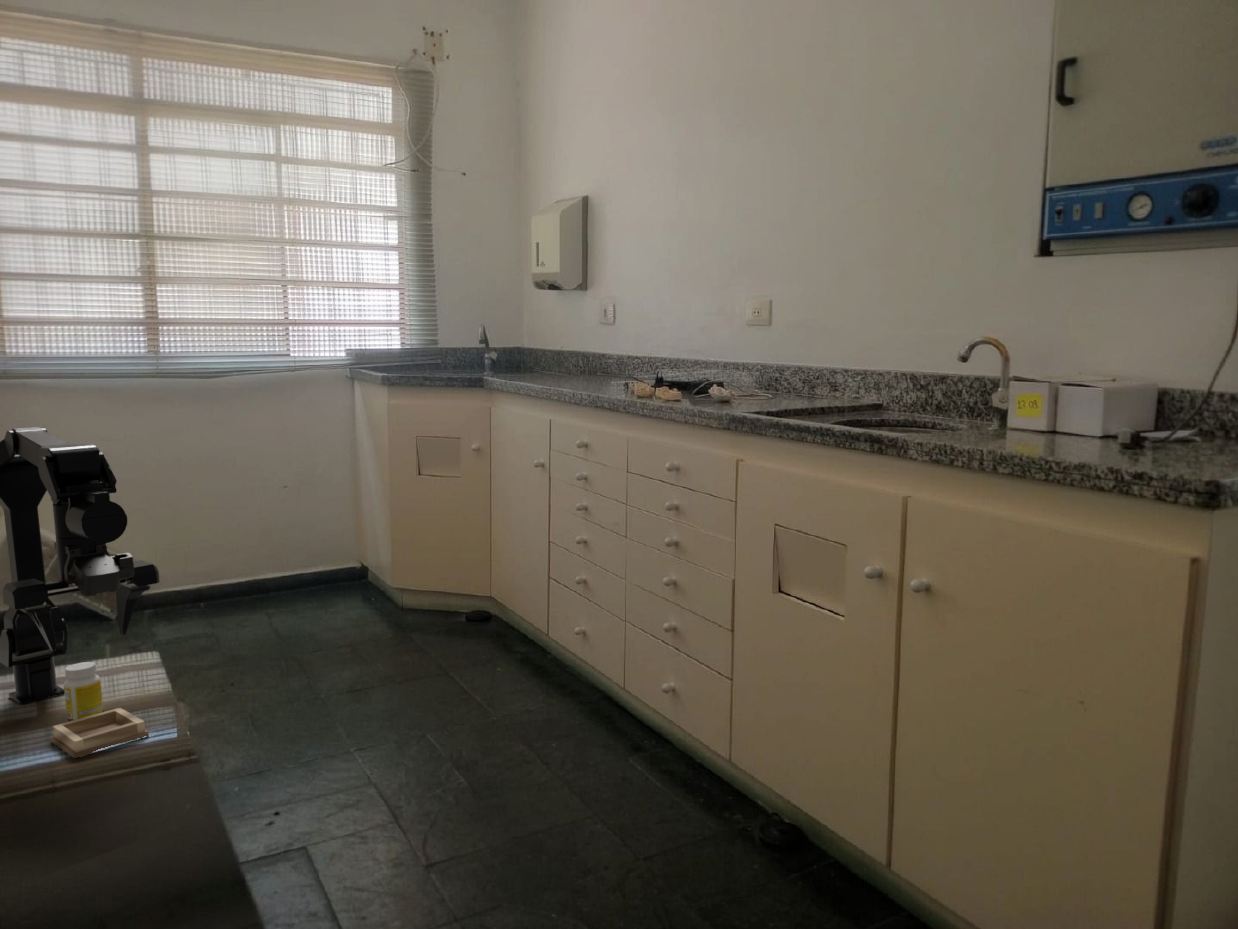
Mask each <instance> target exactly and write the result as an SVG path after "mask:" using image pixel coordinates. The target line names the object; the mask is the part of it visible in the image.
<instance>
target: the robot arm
mask: <svg viewBox="0 0 1238 929" xmlns="http://www.w3.org/2000/svg"><path fill="white" fill-rule="evenodd" d="M116 485H117V478H116V476H115V475H114V473H113V470H112V468H111V465H110V464H109V462H108V459H107V458H106V456H105V454H104V453H103V452H102V451H100V449H99V447H98V446H96V445H95V444H89V443H79V444H78V443H77V444H75V443H73V444H70V443H68V442H65V441H63V440H62V439H60V438H59V437H57V436H54V435H52V434H51V433H49V432H48V430H47V429H46V428H45V427H44V428H42V427H41V426H34V427H32V426H30V427H20V428H18V427H17V428H11V430H7V431H6V432H5V436H4V438H3V439H2V440H1V441H0V506H1V508H2V510H3V515H4V517H3V518H4V524H5V533H6V541H7V552H8V559H9V560H8V561H9V569H10V576H11V582H7V583H6V584H5V585H4V586H3V588H2V601H3V604H4V605H5V606H8V609H7V611H6V612H5V614H4V616H3V629H2V630H1V633H0V664H1V665H4V666H5V667H7V668H11V667H12V670H13V678H14V679H13V681H14V689H15V691H12V692H10V693H8V697H10V698H11V699H12V700H14V701H15V702H16V703H17V704H19V705H23V704H29V703H32V702H35V701H39V700H44V699H47V698H51V697H55V696H60V695H65V692H64V688H62V687H60V686H59V685H58V684H57V677H56V676H57V675H56V665H55V657H58V656H65V655H67V650H68V634H69V633H68V632H69V626H68V625H67V624H66V622H65V619H64V618H63V613H62V612H63V611H62V610H61V609H60V607H58V606H57V605H56V604H55V603H53V601H52V600H51V599H50V598H49V597H53V596H57V595H63V594H69V593H74V592H75V593H76V592H78V591H79V592H80V593H81V595H83V596H84V597H85V596H86V597H94V596H96V595H98V594H103V593H108V592H109V593H114V592H115V599H116V600H115V601H116V612H117V614H116V615H117V625H118V630H119V634H120V635H121V636H126V635H127V632H128V629H129V625H130V622H131V619H132V617H133V616H132V615H133V612H134V609H135V606H136V604H137V601H138V600H139V598H140V597H141V595H142V594H143V593H144V592H146V591H150V590H151V586H150V585H155V584H159V583H160V574H159V573H160V572H159V569H158V567H157V566H156V565H154V563H150V562H148V561H144V560H135V561H134V557H133V555H132V554H131V553H130V552H123V553H117V554H114V555H113V556H112V555H111V556H110V555H109V552H108V546H107V544H108V543H112V542H114V541H116V540H118V539H119V538H120V537H121V536H122V535H124V533H125V531H126V528H127V526H128V516H127V514H126V512H125V510H124V508H123V507H122V506H121V505H120V504H118V503H117V502H114V501H112V500H111V499H110V498H111V497H110V494H116V493H117V487H116ZM46 493H48V495H49V496H50V501H51V502H52V510H53V520H54V521H53V522H54V534H55V542H53V546H54V550H56V553H57V556H56V557H57V565H58V570H56V575H57V576H56V578H57V579H59V580H55V581H51V582H50V581H49V582H47V580H46V572H45V565H44V564H45V563H44V554H43V545H42V544H43V543H42V534H41V527H40V518H39V517H40V515H39V506H40V505H41V504H40V503H41V502H42V500H43V498H44V497H45V495H46Z"/></svg>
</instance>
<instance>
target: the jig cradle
mask: <svg viewBox="0 0 1238 929" xmlns="http://www.w3.org/2000/svg"><path fill="white" fill-rule="evenodd" d="M145 724H146V723H145V721H144V720H143V719H141V718H139V717H138V716H136V715H134V714H132V713H130V712H128V711H127V710H125V709H123V708H121V707H116V708H114V709H110V710H107V711H106V710H105V711H104V712H102V713H98V714H95V715H91V716H88V717H84V718H80V719H77V720H73V721H69V722H68V721H66V722H63V723H59V724H56V725H52V734H53V735H51V736H50V742H51V743H52V744H53V743H54V744H53V745H55V746H56V745H57V746H58V747H57V746H56V747H57V748H59V749H60V748H61V749H60V750H62V749H63V750H64V751H65V752H64V751H63V750H62V751H63V752H64V753H66V752H67V753H68V754H70V755H71V756H72V757H71V756H70V755H69V756H70V757H71V758H73V757H74V758H77V757H80V756H83V755H86V754H89V753H92V752H93V751H96V750H98V749H101V748H105V747H108V746H111V745H115V744H118V743H123V742H127V741H130V740H135V739H137V738H142V737H144V736H149V737H150V735H149V731H148V730H147V729H146V726H145ZM67 753H66V754H67ZM68 754H67V755H68ZM74 758H73V759H74Z"/></svg>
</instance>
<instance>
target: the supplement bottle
mask: <svg viewBox="0 0 1238 929" xmlns="http://www.w3.org/2000/svg"><path fill="white" fill-rule="evenodd" d="M96 665H97V664H96V663H95V662H93V661H92V662H91V661H85V662H78V663H73V664H70V665H68V666H67V667H65V668H64V670H65V679H66V680H65V681H64V683H63V689H64V692H65V693H64V699H65V709H66V717H67V722H69V721H73V720H77V719H80V718H84V717H88V716H91V715H95V714H98V713H102V712H105V711H104V704H103V703H104V702H103V694H102V685H101V684H102V683H101V678H100V676H99V675H98V674H97V667H96Z"/></svg>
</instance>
